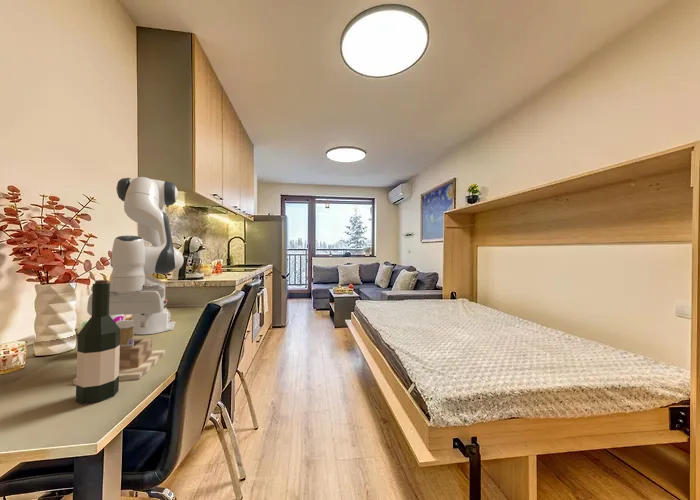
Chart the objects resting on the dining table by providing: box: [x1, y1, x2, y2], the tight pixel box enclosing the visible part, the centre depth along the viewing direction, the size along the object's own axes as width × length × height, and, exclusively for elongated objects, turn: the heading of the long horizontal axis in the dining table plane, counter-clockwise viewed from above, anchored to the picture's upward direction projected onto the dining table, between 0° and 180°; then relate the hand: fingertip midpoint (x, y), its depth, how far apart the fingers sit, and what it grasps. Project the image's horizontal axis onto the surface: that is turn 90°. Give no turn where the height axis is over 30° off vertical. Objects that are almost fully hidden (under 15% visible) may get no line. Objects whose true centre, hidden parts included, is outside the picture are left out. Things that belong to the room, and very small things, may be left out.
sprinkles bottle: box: [117, 319, 135, 347], centre depth 93 cm, size 5×5×14 cm
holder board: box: [72, 337, 166, 386], centre depth 93 cm, size 22×16×8 cm
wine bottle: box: [75, 279, 120, 405], centre depth 75 cm, size 8×8×30 cm
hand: (126, 327), depth 93 cm, fingers open, 8 cm apart
